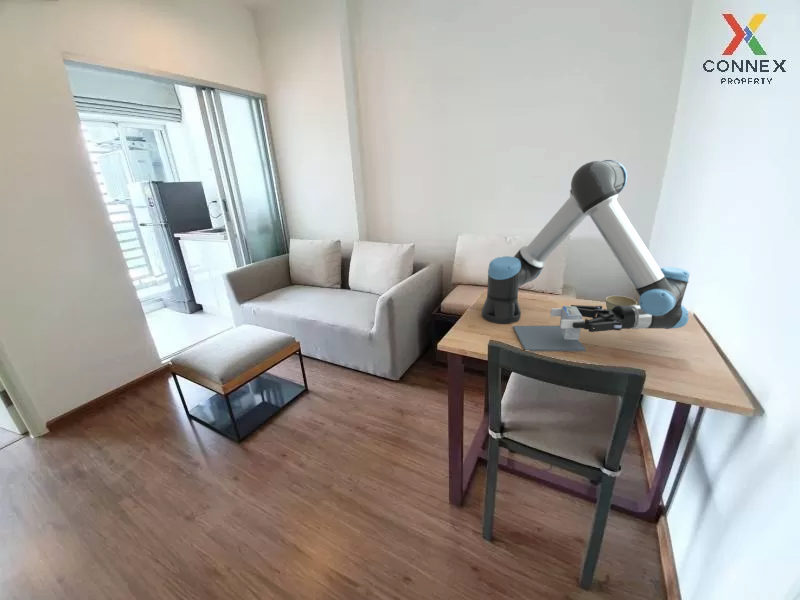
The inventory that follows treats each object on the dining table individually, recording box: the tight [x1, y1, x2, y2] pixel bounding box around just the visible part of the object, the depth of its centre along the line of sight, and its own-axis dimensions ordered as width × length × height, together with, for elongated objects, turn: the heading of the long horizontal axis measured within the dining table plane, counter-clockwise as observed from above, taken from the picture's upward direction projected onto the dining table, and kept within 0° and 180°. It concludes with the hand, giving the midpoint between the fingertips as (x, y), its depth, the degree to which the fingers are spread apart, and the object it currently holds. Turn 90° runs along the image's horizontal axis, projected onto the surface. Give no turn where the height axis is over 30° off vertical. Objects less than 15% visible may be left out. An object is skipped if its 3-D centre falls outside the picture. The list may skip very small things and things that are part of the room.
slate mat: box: [512, 325, 587, 352], centre depth 115 cm, size 19×17×1 cm
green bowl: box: [605, 295, 638, 310], centre depth 126 cm, size 10×10×7 cm
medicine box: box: [559, 305, 583, 341], centre depth 107 cm, size 8×4×9 cm, turn 166°
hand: (556, 318), depth 107 cm, fingers closed on medicine box, 8 cm apart
